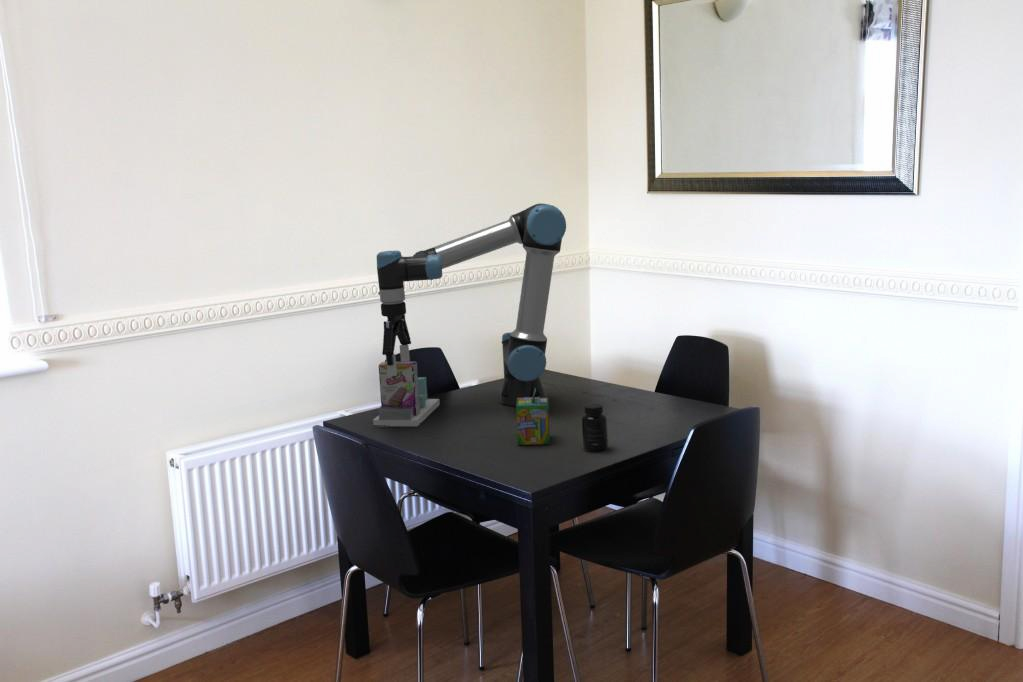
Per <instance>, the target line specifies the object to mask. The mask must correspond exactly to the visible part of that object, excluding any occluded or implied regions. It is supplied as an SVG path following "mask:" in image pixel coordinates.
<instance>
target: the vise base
mask: <svg viewBox="0 0 1023 682" xmlns="http://www.w3.org/2000/svg"><path fill="white" fill-rule="evenodd" d="M425 402H426V405H425V406H424V407H420V412H419V413H418V414H417V416H413V406H380V407H379V408H378V411H377V412H378V415H377V416H376V417H375V418H373V419H372V424H373V425H382V426H381V427H384V426H383V425H386V426H385V427H418V426H420V425H421V424H422V422H424V421H425V420H426V419H427V418H428V417H429V416H430V415H431V414H432V413H433V412H434V411H435V410H436V409H437V408H439V406H440V404H441V403H440V398H427V399H426V400H425ZM420 423H421V424H420ZM388 425H389V426H388Z"/></svg>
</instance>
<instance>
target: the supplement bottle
mask: <svg viewBox="0 0 1023 682" xmlns="http://www.w3.org/2000/svg"><path fill="white" fill-rule="evenodd" d="M603 408H604V407H603V405H602V404H600V403H588V404H585V405H584V415H583V416H582V418H581V437H582V438H581V440H582V449H583V450H584V451H586V452H588V453H589V452H590V453H600V452H604V451H606V450H607V449H608V447H609V437H608V436H609V435H608V418H607V416H606V415H605V414H604V409H603Z"/></svg>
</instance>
